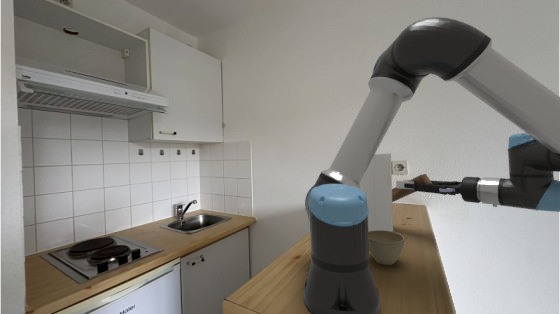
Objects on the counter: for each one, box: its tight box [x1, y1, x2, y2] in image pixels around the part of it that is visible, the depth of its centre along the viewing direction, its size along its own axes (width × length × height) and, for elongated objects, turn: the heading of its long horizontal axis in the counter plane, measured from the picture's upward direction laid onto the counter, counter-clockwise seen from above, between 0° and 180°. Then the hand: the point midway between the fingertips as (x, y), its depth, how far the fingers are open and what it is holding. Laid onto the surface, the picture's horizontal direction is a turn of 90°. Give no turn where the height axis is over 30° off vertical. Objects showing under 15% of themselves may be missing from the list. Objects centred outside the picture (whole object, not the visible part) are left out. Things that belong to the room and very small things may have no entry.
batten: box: [392, 173, 432, 203], centre depth 86 cm, size 4×24×4 cm, turn 34°
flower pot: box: [368, 230, 405, 266], centre depth 63 cm, size 10×10×7 cm
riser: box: [359, 152, 394, 232], centre depth 82 cm, size 10×14×30 cm
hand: (400, 183), depth 85 cm, fingers closed on batten, 4 cm apart
